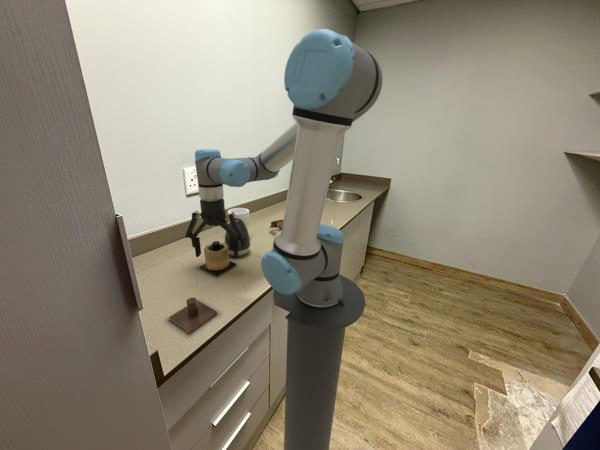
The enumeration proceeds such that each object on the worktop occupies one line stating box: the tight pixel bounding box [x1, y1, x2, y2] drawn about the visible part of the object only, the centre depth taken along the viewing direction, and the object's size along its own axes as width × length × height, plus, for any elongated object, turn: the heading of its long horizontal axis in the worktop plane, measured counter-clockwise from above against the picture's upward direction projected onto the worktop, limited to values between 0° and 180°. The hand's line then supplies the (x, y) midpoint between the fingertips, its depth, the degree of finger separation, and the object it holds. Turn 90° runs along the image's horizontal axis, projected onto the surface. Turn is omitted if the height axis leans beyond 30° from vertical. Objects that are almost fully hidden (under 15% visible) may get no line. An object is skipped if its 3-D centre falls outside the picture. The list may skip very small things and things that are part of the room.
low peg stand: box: [168, 297, 218, 335], centre depth 63 cm, size 8×8×6 cm
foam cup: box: [227, 207, 250, 230], centre depth 112 cm, size 10×9×13 cm
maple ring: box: [203, 242, 230, 270], centre depth 87 cm, size 8×8×7 cm
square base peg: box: [198, 240, 237, 277], centre depth 87 cm, size 9×9×10 cm
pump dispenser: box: [223, 218, 251, 257], centre depth 96 cm, size 10×10×15 cm
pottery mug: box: [269, 218, 284, 235], centre depth 120 cm, size 12×10×8 cm
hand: (217, 256), depth 87 cm, fingers open, 13 cm apart
